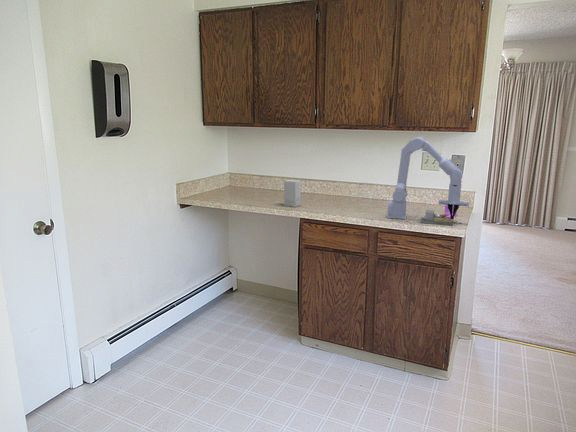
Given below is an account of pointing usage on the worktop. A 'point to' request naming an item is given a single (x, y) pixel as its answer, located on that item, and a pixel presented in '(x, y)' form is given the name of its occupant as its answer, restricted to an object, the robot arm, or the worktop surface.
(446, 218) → the keeper bar
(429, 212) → the block
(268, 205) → the worktop surface
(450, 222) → the grey latch board
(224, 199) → the worktop surface
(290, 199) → the skincare box
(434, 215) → the orange block with stem
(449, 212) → the bracket
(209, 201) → the worktop surface
